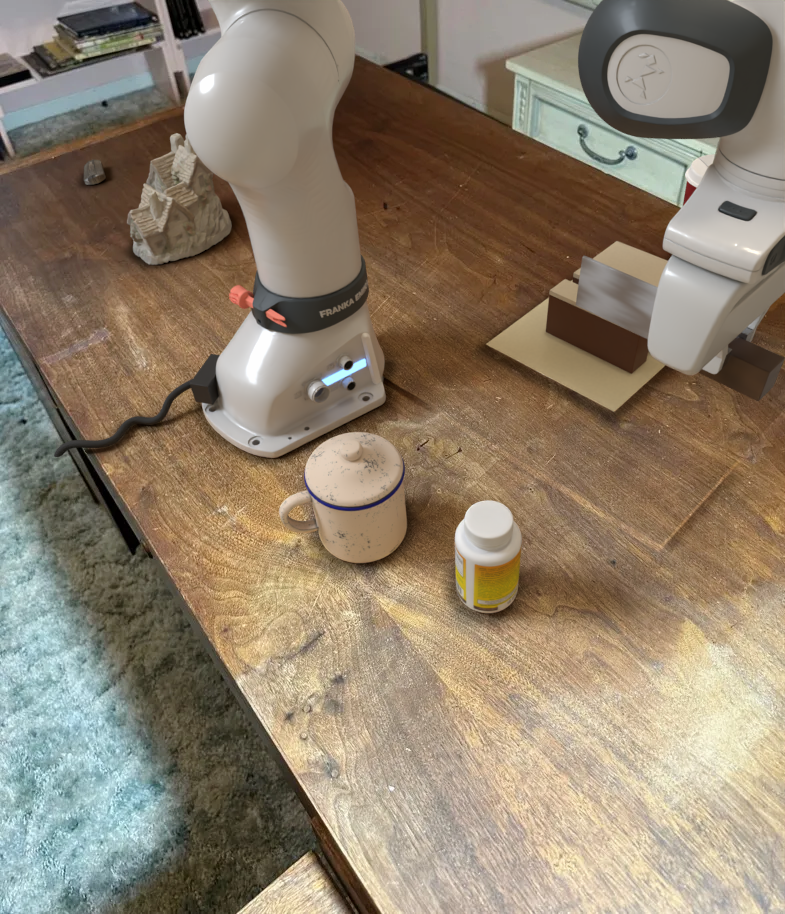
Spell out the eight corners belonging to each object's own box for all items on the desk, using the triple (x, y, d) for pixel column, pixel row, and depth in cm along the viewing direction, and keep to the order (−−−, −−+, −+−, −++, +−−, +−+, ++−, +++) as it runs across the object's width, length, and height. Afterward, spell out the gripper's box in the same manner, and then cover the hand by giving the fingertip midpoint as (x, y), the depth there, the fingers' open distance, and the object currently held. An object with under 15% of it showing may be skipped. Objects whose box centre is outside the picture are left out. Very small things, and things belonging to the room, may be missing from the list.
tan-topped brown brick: (631, 374, 86) (640, 331, 82) (545, 331, 92) (549, 290, 88) (646, 361, 87) (656, 318, 83) (560, 320, 94) (565, 278, 89)
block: (104, 167, 133) (100, 157, 132) (107, 182, 129) (103, 172, 128) (83, 172, 133) (79, 162, 131) (85, 187, 129) (81, 176, 127)
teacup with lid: (392, 483, 79) (384, 399, 70) (422, 550, 73) (417, 467, 64) (279, 516, 77) (256, 434, 68) (300, 588, 70) (278, 508, 62)
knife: (773, 386, 60) (794, 336, 56) (758, 402, 59) (778, 351, 55) (584, 298, 69) (591, 250, 66) (568, 310, 68) (574, 261, 65)
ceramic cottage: (204, 193, 124) (175, 101, 112) (248, 238, 114) (221, 143, 103) (114, 230, 120) (74, 139, 108) (152, 280, 110) (112, 186, 99)
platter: (613, 418, 83) (614, 411, 82) (485, 350, 92) (485, 344, 92) (720, 319, 93) (722, 312, 93) (596, 267, 103) (597, 261, 102)
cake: (653, 354, 88) (663, 311, 84) (568, 314, 94) (573, 272, 90) (694, 318, 92) (706, 275, 88) (609, 282, 98) (616, 240, 94)
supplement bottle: (530, 586, 69) (538, 515, 62) (491, 627, 66) (495, 558, 59) (481, 553, 72) (483, 482, 64) (442, 592, 69) (440, 521, 62)
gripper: (804, 124, 57) (751, 282, 67) (650, 238, 47) (615, 401, 58) (893, 148, 53) (823, 311, 63) (745, 275, 44) (691, 442, 54)
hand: (723, 355), depth 60 cm, fingers closed on knife, 2 cm apart
